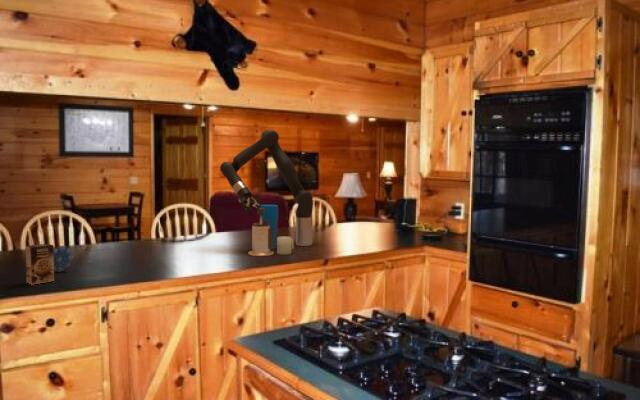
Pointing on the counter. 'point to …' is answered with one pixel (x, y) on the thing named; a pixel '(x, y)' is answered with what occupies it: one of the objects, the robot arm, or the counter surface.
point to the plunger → (261, 211)
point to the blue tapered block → (271, 219)
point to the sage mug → (284, 245)
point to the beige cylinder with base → (262, 240)
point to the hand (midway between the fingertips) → (256, 212)
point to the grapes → (61, 258)
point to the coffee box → (39, 264)
